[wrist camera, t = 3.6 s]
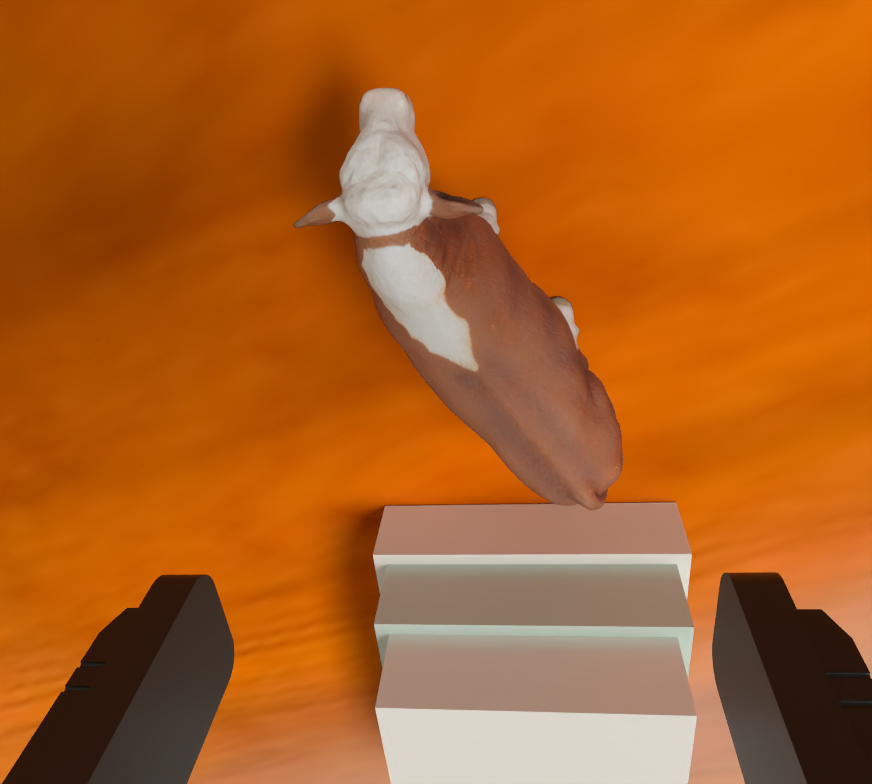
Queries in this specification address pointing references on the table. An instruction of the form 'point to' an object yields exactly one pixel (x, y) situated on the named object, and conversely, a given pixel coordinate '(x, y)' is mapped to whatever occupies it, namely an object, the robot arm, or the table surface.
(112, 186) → the table surface
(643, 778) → the white stepped block
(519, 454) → the bull figurine
